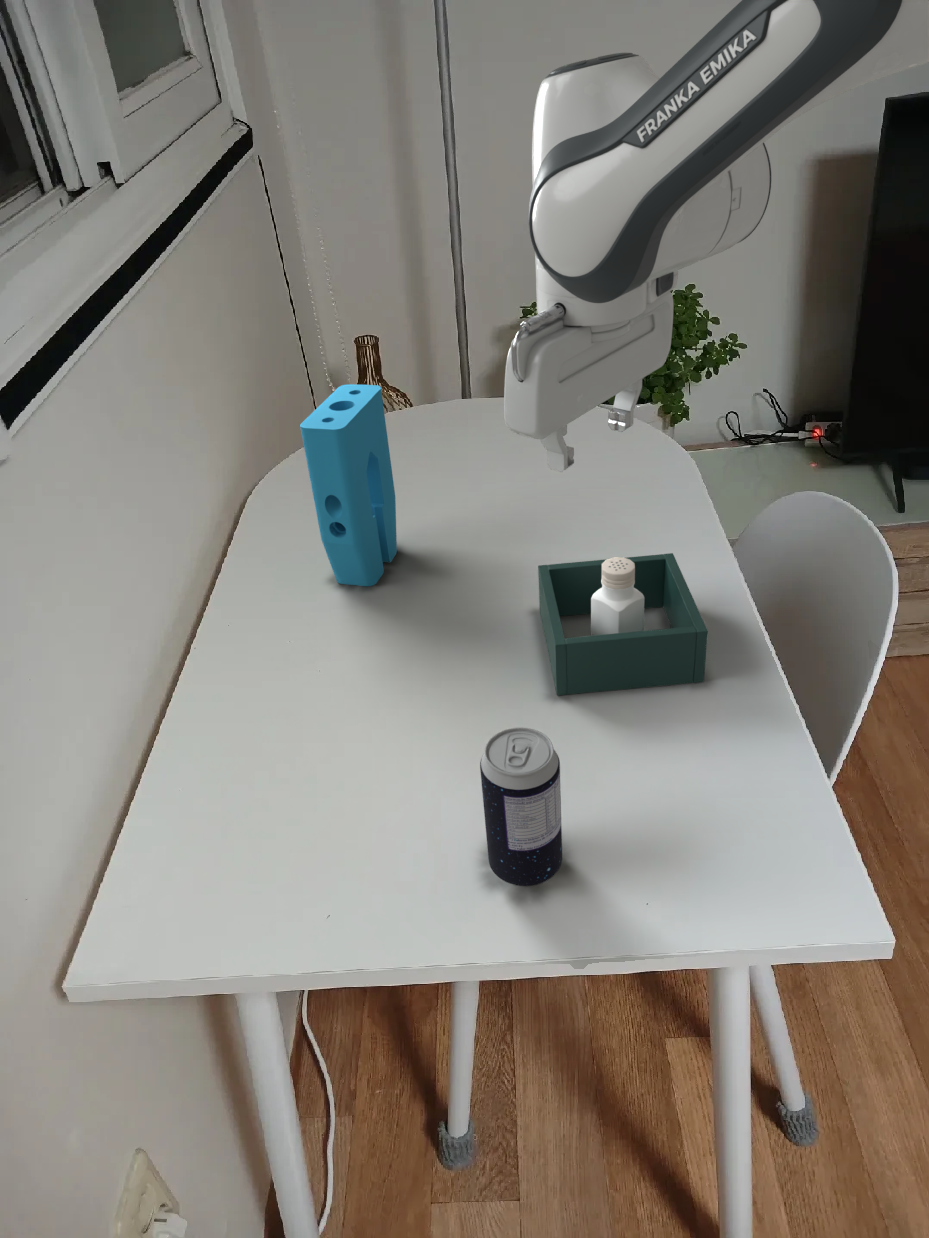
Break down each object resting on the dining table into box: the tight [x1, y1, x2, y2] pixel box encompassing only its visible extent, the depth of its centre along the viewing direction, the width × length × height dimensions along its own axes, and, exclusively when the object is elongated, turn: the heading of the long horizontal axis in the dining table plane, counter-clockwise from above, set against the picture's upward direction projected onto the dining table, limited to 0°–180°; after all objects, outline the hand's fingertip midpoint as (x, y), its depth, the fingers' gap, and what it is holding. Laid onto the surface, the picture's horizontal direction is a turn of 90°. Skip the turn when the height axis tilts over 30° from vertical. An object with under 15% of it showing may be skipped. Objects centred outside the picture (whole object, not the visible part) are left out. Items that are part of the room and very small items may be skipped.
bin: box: [537, 552, 709, 697], centre depth 94 cm, size 14×14×6 cm
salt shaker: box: [590, 556, 645, 636], centre depth 93 cm, size 4×4×10 cm
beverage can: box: [479, 727, 563, 887], centre depth 70 cm, size 6×6×12 cm
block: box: [299, 383, 398, 587], centre depth 107 cm, size 12×5×20 cm, turn 164°
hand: (591, 447), depth 84 cm, fingers open, 8 cm apart
